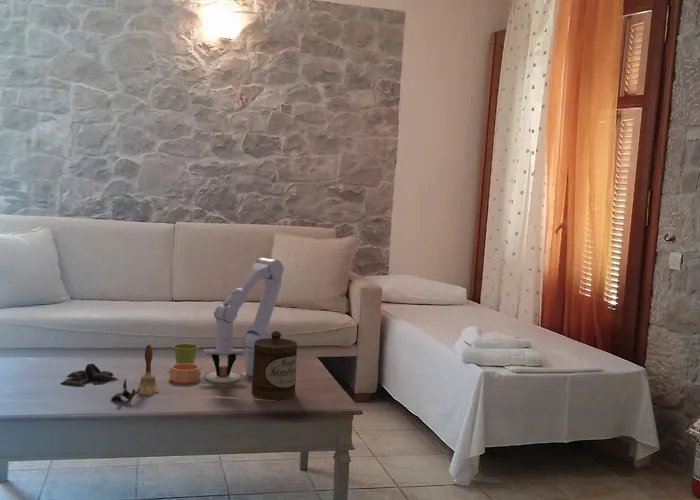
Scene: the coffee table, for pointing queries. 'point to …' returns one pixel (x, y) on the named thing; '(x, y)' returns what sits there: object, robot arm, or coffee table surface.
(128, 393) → the eagle figurine
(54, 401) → the coffee table surface
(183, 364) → the bowl
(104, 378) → the cloth
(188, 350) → the plant pot
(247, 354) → the robot arm
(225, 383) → the mat
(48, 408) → the coffee table surface
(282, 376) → the wooden container
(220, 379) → the lid
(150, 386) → the hand bell
